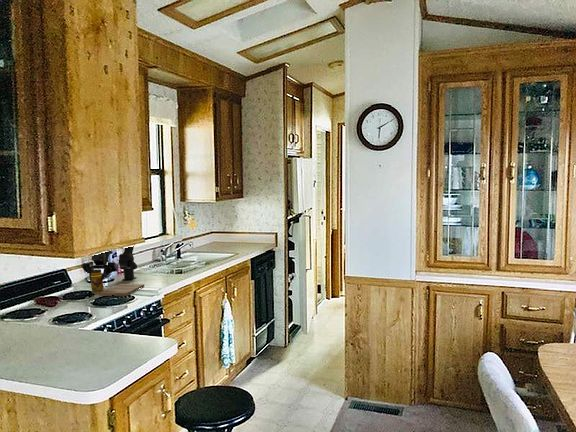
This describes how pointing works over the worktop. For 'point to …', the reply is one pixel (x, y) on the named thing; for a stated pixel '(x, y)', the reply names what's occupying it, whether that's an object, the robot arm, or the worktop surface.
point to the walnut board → (121, 290)
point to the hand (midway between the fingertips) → (96, 280)
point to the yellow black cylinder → (96, 281)
